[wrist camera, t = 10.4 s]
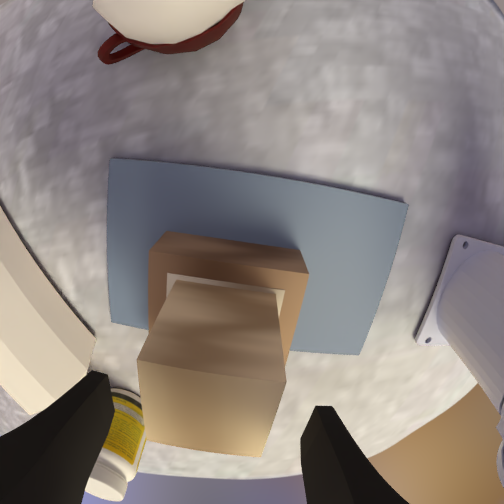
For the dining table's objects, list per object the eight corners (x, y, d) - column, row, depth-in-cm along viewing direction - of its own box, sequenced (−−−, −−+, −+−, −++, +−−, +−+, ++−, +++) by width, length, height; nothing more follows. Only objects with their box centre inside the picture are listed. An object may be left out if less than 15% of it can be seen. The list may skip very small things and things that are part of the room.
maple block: (275, 293, 14) (286, 381, 8) (259, 368, 15) (260, 457, 10) (176, 279, 13) (136, 359, 8) (173, 355, 15) (146, 440, 10)
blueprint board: (404, 202, 16) (408, 204, 15) (357, 350, 19) (359, 355, 19) (113, 157, 15) (109, 158, 14) (114, 317, 18) (111, 321, 18)
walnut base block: (300, 250, 16) (309, 274, 13) (275, 355, 19) (278, 389, 16) (166, 230, 16) (148, 251, 13) (163, 339, 18) (150, 370, 15)
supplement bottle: (93, 381, 21) (51, 461, 13) (147, 390, 21) (115, 482, 13) (109, 419, 22) (79, 493, 14) (158, 427, 22) (136, 509, 14)
